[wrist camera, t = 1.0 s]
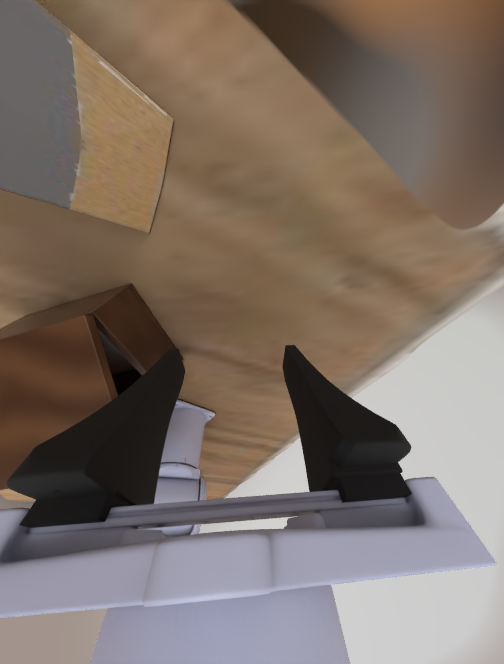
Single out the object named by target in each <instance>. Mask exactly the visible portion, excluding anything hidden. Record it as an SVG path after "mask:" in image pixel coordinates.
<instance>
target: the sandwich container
mask: <svg viewBox="0 0 504 664" xmlns="http://www.w3.org/2000/svg"><path fill="white" fill-rule="evenodd" d="M172 125H173V118H172V117H170V116H169V115H168V114H167V113H166V112H165V111H164V110H162V109H161V108H160V107H159V106H158V105H157V104H155V103H154V102H153V101H152V100H151V99H150V98H148V97H147V96H146V95H145V94H144V93H143V92H141V91H140V90H139V89H138V88H137V87H136V86H134V85H133V84H132V83H131V82H130V81H129V80H128V79H126V78H125V77H124V76H123V75H122V74H121V73H119V72H118V71H117V70H116V69H115V68H114V67H112V66H111V65H110V64H109V63H108V62H107V61H105V60H104V59H103V58H102V57H101V56H100V55H98V54H97V53H96V52H95V51H94V50H93V49H91V48H90V47H89V46H88V45H87V44H86V43H85V42H83V41H82V40H81V39H80V38H79V37H78V36H76V35H75V34H74V33H73V32H72V31H71V30H69V29H68V28H67V27H66V26H65V25H64V24H62V23H61V22H60V21H59V20H58V19H57V18H55V17H54V16H53V15H52V14H51V13H50V12H48V11H47V10H46V9H45V8H44V7H43V6H41V5H40V4H39V3H38V2H37V1H36V0H0V189H1V190H5V191H8V192H12V193H15V194H19V195H22V196H26V197H29V198H32V199H36V200H39V201H43V202H46V203H50V204H53V205H57V206H60V207H63V208H67V209H70V210H74V211H77V212H80V213H84V214H87V215H91V216H94V217H97V218H101V219H104V220H107V221H111V222H114V223H117V224H120V225H124V226H127V227H130V228H134V229H137V230H140V231H144V232H147V233H149V232H150V228H151V224H152V221H153V217H154V213H155V210H156V206H157V202H158V199H159V195H160V191H161V188H162V183H163V177H164V171H165V166H166V160H167V154H168V148H169V142H170V136H171V130H172Z"/></svg>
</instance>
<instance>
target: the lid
mask: <svg viewBox="0 0 504 664" xmlns="http://www.w3.org/2000/svg"><path fill="white" fill-rule="evenodd" d="M117 396H118V394H117V391H116V388H115V385H114V381H113V378H112V375H111V372H110V368H109V365H108V362H107V359H106V356H105V352H104V349H103V346H102V343H101V340H100V336H99V333H98V330H97V327H96V323H95V320H94V317H93V315H83V316H80V317H76V318H73V319H69V320H66V321H63V322H59V323H56V324H52V325H49V326H45V327H42V328H39V329H35V330H32V331H28V332H25V333H22V334H18V335H15V336H11V337H8V338H5V339H1V340H0V490H3V489H8V488H9V487H8V486H7V480H8V479H9V478H10V476H11V475H12V474H13V473H14V472H15V470H16V469H17V468H18V467H19V466H20V464H21V463H22V462H23V461H24V460H25V458H26V457H27V456H28V455H29V454H30V452H31V451H32V450H33V449H34V448H35V447H36V446H37V445H39V444H41V443H43V442H45V441H47V440H49V439H50V438H52V437H54V436H56V435H58V434H59V433H61V432H63V431H65V430H67V429H68V428H70V427H72V426H74V425H75V424H77V423H79V422H80V421H82V420H83V419H85V418H87V417H88V416H90V415H91V414H93V413H94V412H96V411H97V410H99V409H100V408H102V407H103V406H105V405H106V404H108V403H109V402H110V401H112V400H113V399H115V398H116V397H117Z"/></svg>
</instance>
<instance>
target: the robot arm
mask: <svg viewBox="0 0 504 664" xmlns="http://www.w3.org/2000/svg"><path fill="white" fill-rule="evenodd" d="M283 372H284V377H285V382H286V385H287V388H288V391H289V395H290V398H291V401H292V404H293V407H294V411H295V414H296V419H297V423H298V428H299V433H300V438H301V443H302V449H303V454H304V460H305V466H306V472H307V478H308V484H309V491H310V492H304V493H291V494H278V495H265V496H252V497H238V498H225V499H212V500H206V491H207V487H206V482H205V480H204V478H203V477H202V476H200V472H201V469H198V467H199V460H200V454H201V447H202V441H203V434H204V428H205V424H206V423H207V422H208V421H209V420H210V419H212V418H213V417H214V416H215V413H214V412H212V411H209V410H206V409H203V408H200V407H198V406H195V405H192V404H189V403H186V402H183V401H181V400H177V399H178V396H179V393H180V390H181V387H182V383H183V379H184V373H185V369H184V365H183V362H182V359H181V356H180V352H179V349H169V350H168V351H167V352H166V353H165V354H164V355H163V356H162V357H161V358H160V359H159V360H158V361H157V362H156V363H155V364H154V365H153V366H152V367H151V368H150V369H149V370H148V371H147V372H146V373H145V374H144V375H142V376H141V377H140V378H139V379H138V380H137V381H136V382H135V383H134V384H132V385H131V386H130V387H129V388H128V389H126V390H125V391H124V392H123V393H121V394H120V395H119V396H117V397H116V398H115V399H113V400H112V401H110V402H109V403H108V404H106V405H105V406H103V407H102V408H100V409H99V410H97V411H96V412H94V413H93V414H91V415H90V416H88V417H87V418H85V419H83V420H82V421H80V422H79V423H77V424H75V425H74V426H72V427H70V428H68V429H67V430H65V431H63V432H61V433H59V434H58V435H56V436H54V437H52V438H50V439H49V440H47V441H45V442H43V443H41V444H39V445H37V446H36V447H35V448H34V449H33V450H32V451H31V452H30V454H29V455H28V456H27V457H26V458H25V460H24V461H23V462H22V463H21V464H20V466H19V467H18V468H17V469H16V470H15V472H14V473H13V474H12V475H11V476H10V478H9V479H8V480H7V486H8V487H9V488H10V489H11V490H13V491H16V492H18V493H21V494H23V495H26V496H28V497H31V498H33V499H36V501H35V503H34V504H33V505H32V507H31V508H30V509H29V508H11V509H0V618H3V617H15V616H26V615H37V614H48V613H57V612H58V613H59V612H70V611H80V610H91V609H102V608H107V610H106V613H105V616H104V619H103V622H102V625H101V628H100V632H99V635H98V638H97V641H96V644H95V647H94V650H93V653H92V656H91V659H90V662H89V664H350V661H349V657H348V653H347V649H346V645H345V640H344V636H343V632H342V628H341V624H340V620H339V616H338V611H337V607H336V603H335V599H334V595H333V591H332V587H331V584H340V583H348V582H356V581H365V580H374V579H382V578H391V577H398V576H408V575H417V574H425V573H434V572H442V571H451V570H460V569H468V568H478V567H488V566H496V561H495V560H494V558H493V557H492V556H491V554H490V553H489V552H488V550H487V549H486V547H485V546H484V544H483V543H482V542H481V540H480V539H479V537H478V536H477V534H476V533H475V532H474V530H473V529H472V528H471V526H470V525H469V523H468V522H467V521H466V519H465V518H464V516H463V515H462V514H461V512H460V511H459V509H458V508H457V507H456V505H455V504H454V502H453V501H452V500H451V499H450V497H449V495H448V494H447V493H446V491H445V490H444V488H443V487H442V486H441V484H440V483H439V482H438V480H437V479H436V478H435V477H425V478H412V479H407V480H405V481H404V479H403V477H402V476H401V474H400V473H402V469H401V467H400V465H399V464H398V462H399V461H400V460H401V459H402V458H404V457H405V456H406V455H407V454H408V453H409V452H410V450H411V445H410V444H409V442H408V441H407V440H406V438H405V436H404V435H403V434H402V432H401V431H400V430H399V428H398V427H397V426H396V425H395V424H393V423H392V422H390V421H388V420H386V419H384V418H382V417H381V416H379V415H377V414H375V413H373V412H372V411H370V410H368V409H367V408H365V407H364V406H362V405H361V404H359V403H358V402H356V401H354V400H353V399H352V398H350V397H349V396H347V395H346V394H345V393H343V392H342V391H341V390H339V389H338V388H337V387H336V386H334V385H333V384H332V383H331V382H329V381H328V380H327V379H326V378H325V377H324V376H323V375H322V374H321V373H320V372H319V371H318V370H317V369H316V368H315V367H314V366H313V365H312V364H311V363H310V362H309V361H308V360H307V359H306V358H305V357H304V355H303V354H302V353H301V352H300V351H299V350H298V348H297V347H296V346H295V345H286V347H285V353H284V360H283ZM293 516H298V517H293ZM281 517H293V518H289V519H288V520H287V526H286V527H284V529H261V530H239V531H224V532H213V533H203V534H199V531H200V526H201V524H209V523H221V522H233V521H245V520H256V519H269V518H281Z"/></svg>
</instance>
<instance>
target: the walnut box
mask: <svg viewBox="0 0 504 664" xmlns="http://www.w3.org/2000/svg"><path fill="white" fill-rule="evenodd" d="M83 315H93V317H94V320H95V323H96V327H97V330H98V333H99V336H100V340H101V343H102V346H103V349H104V352H105V356H106V359H107V362H108V365H109V368H110V372H111V375H112V378H113V381H114V385H115V388H116V391H117V394H118V396H119V395H120V394H121V393H123V392H124V391H125V390H126V389H128V388H129V387H130V386H131V385H132V384H134V383H135V382H136V381H137V380H138V379H139V378H140V377H141V376H142V375H144V374H145V373H146V372H147V371H148V370H149V369H150V368H151V367H152V366H153V365H154V364H155V363H156V362H157V361H158V360H159V359H160V358H161V357H162V356H163V355H164V354H165V353H166V352H167V351H168V350H169V349H176V347H175V346H174V345H173V343H172V342H171V340H170V339H169V337H168V336H167V334H166V333H165V332H164V330H163V329H162V327H161V326H160V324H159V323H158V321H157V320H156V319H155V317H154V316H153V314H152V313H151V311H150V310H149V308H148V307H147V306H146V304H145V303H144V301H143V300H142V298H141V297H140V295H139V294H138V293H137V291H136V290H135V288H134V287H133V285H132V284H128V285H124V286H121V287H118V288H115V289H111V290H108V291H105V292H101V293H98V294H95V295H92V296H88V297H85V298H82V299H78V300H75V301H72V302H69V303H65V304H62V305H59V306H55V307H52V308H49V309H46V310H42V311H39V312H36V313H32V314H29V315H26V316H24V317H22V318H20V319H18V320H16V321H14V322H12V323H11V324H9V325H7V326H5V327H3V328H1V329H0V340H1V339H5V338H8V337H11V336H15V335H18V334H22V333H25V332H28V331H32V330H35V329H39V328H42V327H45V326H49V325H52V324H56V323H59V322H63V321H66V320H69V319H73V318H76V317H80V316H83ZM180 356H181V355H180ZM181 359H182V360H183V358H182V356H181Z"/></svg>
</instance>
